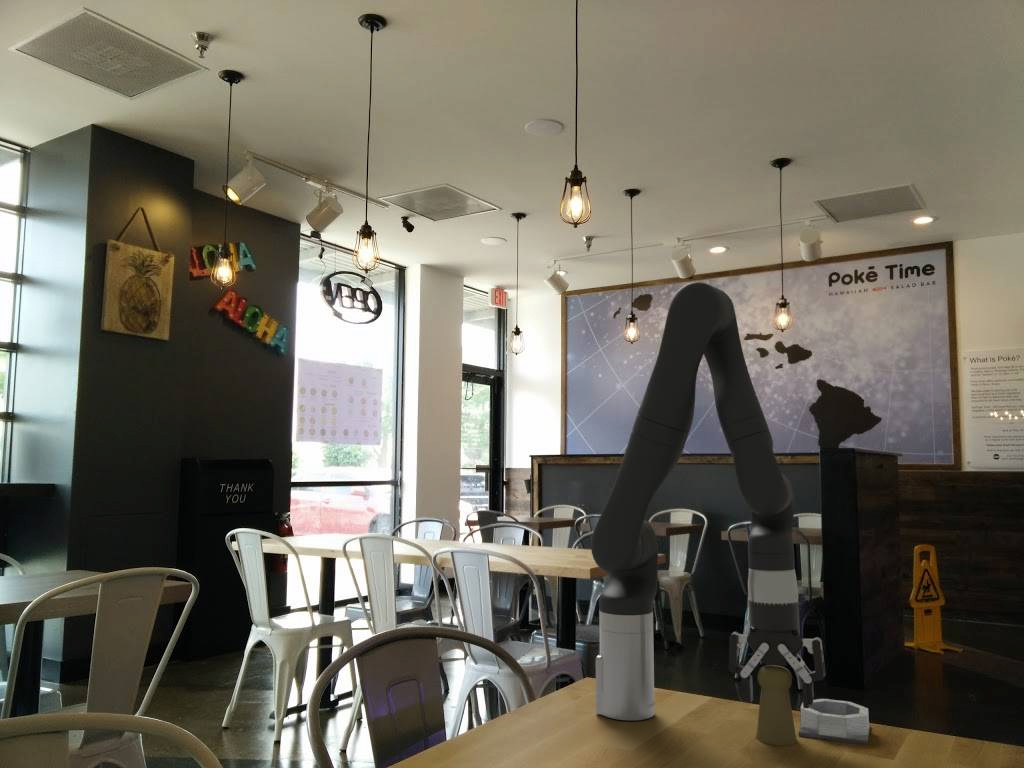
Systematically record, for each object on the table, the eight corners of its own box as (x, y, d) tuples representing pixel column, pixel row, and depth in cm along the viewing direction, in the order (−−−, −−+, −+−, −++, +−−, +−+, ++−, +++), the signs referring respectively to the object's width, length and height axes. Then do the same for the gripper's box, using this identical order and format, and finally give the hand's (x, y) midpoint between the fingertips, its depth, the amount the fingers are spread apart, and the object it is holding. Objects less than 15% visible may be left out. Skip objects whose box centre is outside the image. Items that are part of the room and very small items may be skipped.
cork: (799, 746, 128) (797, 672, 129) (757, 744, 129) (755, 670, 130) (794, 734, 134) (792, 663, 135) (754, 731, 135) (752, 661, 136)
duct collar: (798, 736, 133) (798, 712, 134) (805, 718, 142) (804, 696, 143) (867, 745, 129) (866, 720, 129) (870, 726, 138) (869, 703, 138)
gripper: (722, 599, 133) (726, 705, 131) (818, 603, 127) (824, 715, 125) (731, 592, 140) (736, 694, 138) (823, 596, 134) (828, 703, 132)
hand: (777, 704), depth 132 cm, fingers open, 8 cm apart
